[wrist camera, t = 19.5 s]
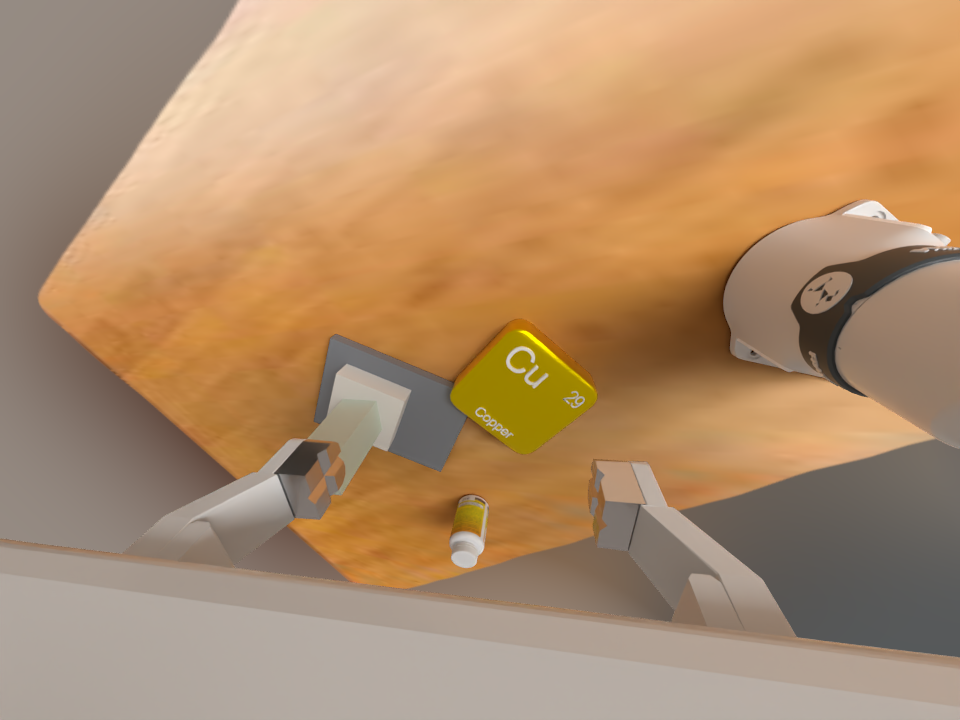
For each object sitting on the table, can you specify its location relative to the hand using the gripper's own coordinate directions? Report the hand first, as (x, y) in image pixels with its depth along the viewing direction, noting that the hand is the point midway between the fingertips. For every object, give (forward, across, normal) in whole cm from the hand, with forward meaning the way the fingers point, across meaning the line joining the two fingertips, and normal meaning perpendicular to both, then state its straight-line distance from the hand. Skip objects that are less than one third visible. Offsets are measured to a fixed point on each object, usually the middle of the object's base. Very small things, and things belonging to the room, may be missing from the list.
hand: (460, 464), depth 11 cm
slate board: (+34, +18, +22) cm, 44 cm away
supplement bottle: (+34, +6, +42) cm, 55 cm away
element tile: (+35, -2, +17) cm, 39 cm away
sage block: (+30, +21, +20) cm, 42 cm away
